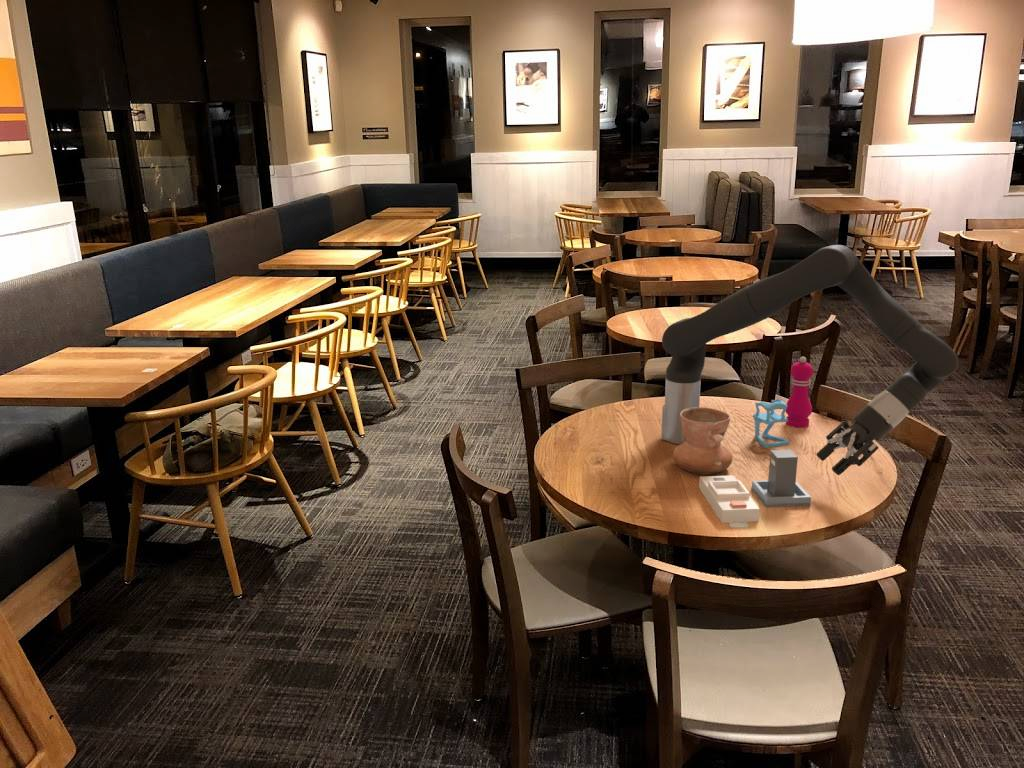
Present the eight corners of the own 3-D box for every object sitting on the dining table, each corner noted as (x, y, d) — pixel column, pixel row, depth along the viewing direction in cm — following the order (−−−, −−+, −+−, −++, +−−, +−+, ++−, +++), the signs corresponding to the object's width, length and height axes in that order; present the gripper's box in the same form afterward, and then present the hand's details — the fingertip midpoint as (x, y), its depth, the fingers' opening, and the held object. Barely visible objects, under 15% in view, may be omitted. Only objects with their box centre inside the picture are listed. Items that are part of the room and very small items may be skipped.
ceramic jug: (745, 477, 198) (749, 422, 194) (689, 483, 195) (692, 427, 191) (711, 452, 215) (714, 401, 211) (659, 457, 212) (661, 405, 208)
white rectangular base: (699, 488, 192) (700, 471, 191) (732, 487, 193) (733, 470, 192) (722, 522, 175) (723, 505, 174) (758, 521, 176) (760, 503, 174)
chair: (771, 434, 226) (774, 393, 223) (789, 444, 218) (793, 401, 215) (747, 438, 224) (749, 396, 220) (765, 448, 216) (768, 405, 213)
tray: (766, 506, 182) (767, 498, 182) (751, 488, 192) (752, 480, 191) (810, 505, 183) (811, 497, 182) (793, 486, 192) (794, 479, 192)
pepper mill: (814, 428, 230) (820, 359, 224) (788, 428, 230) (794, 360, 224) (805, 419, 237) (811, 353, 231) (780, 420, 237) (786, 353, 231)
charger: (767, 490, 189) (770, 450, 186) (787, 489, 189) (790, 449, 187) (773, 498, 185) (777, 457, 182) (794, 498, 185) (797, 457, 182)
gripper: (856, 395, 188) (803, 443, 191) (886, 414, 175) (829, 466, 178) (876, 415, 190) (824, 463, 193) (907, 436, 176) (851, 488, 179)
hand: (826, 465), depth 185 cm, fingers open, 8 cm apart
